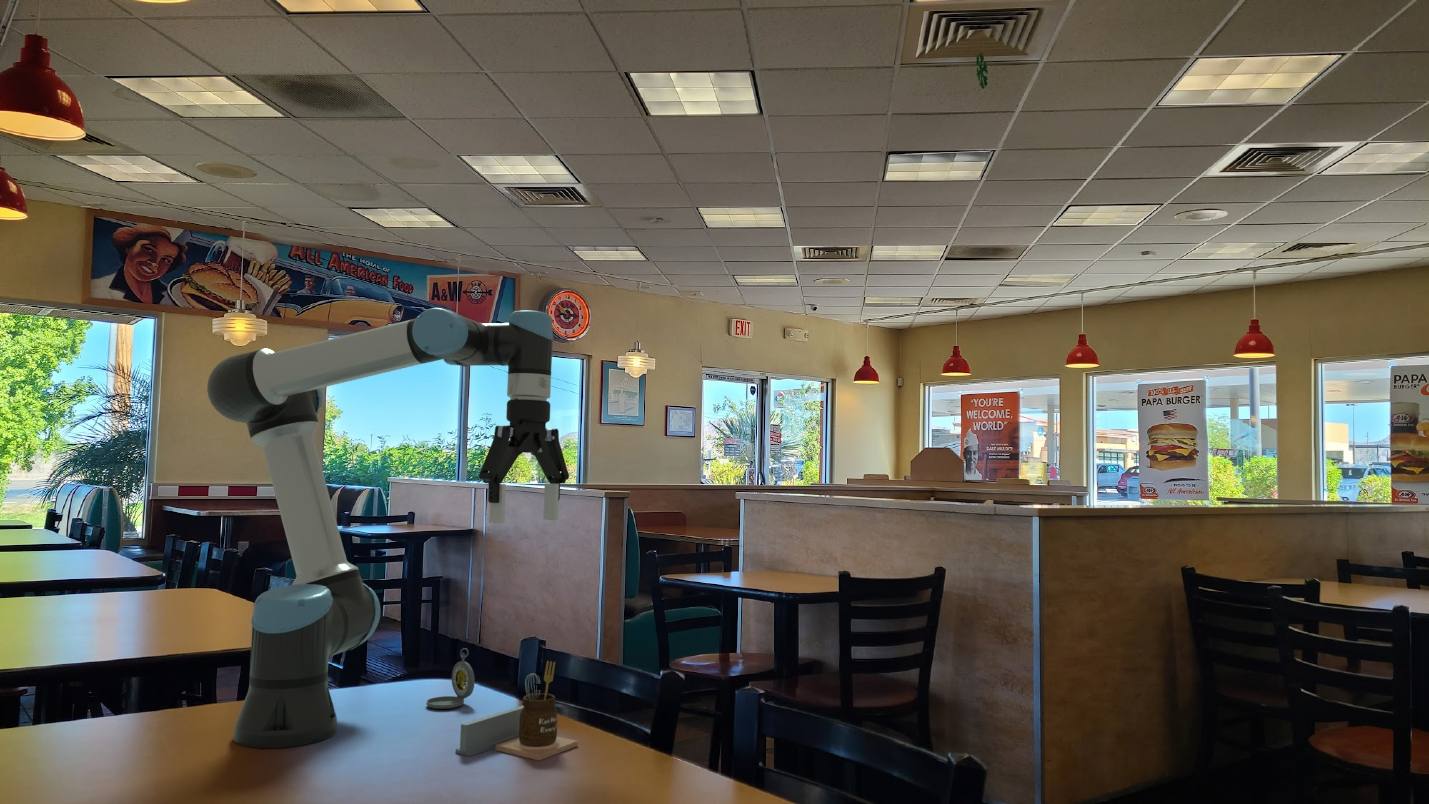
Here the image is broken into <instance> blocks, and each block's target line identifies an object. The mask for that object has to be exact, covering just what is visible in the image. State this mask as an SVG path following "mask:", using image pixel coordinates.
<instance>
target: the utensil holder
mask: <svg viewBox="0 0 1429 804" xmlns="http://www.w3.org/2000/svg"><path fill="white" fill-rule="evenodd" d="M555 667H556V661H553V660H552V661H549V660H547V661H546V664H545V670H544V676H543V681H544V682H545V690H544V692H543V693H540V692H541V691H538V693H537V692H536V690H535V686H534V687H533V688H534V693H529V689H527V687H531V689H533V688H532V685H533V684H532V683H530V685H531V686H529V682H530V680H528V679H531V677H532V678H533V681H535V679H534V676H535V678H536V682H537V683H540V681H541V680H540V677H539V675H537V674H536V673H534V672H533V673H529V674H528V675H527V676H526V677H525V681H524V683H525V684H524V686H525V688H524V689H525V690H526V695H524V696H523V697H522V702H521V706H524V707H523V708H522V710H521V712H520V720H519V741H520V743H521V744H523V745H525V746H531V747H541V746H547V745H551V744H553V743H554V742H555V741H556V737H558V710H557V707H556V703H557V700H556V696H555V695H553V694H551V693H548V691H549V685H550V683H551V682H553V680H554V675H555ZM527 680H528V681H527ZM527 682H528V684H527Z"/></svg>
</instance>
